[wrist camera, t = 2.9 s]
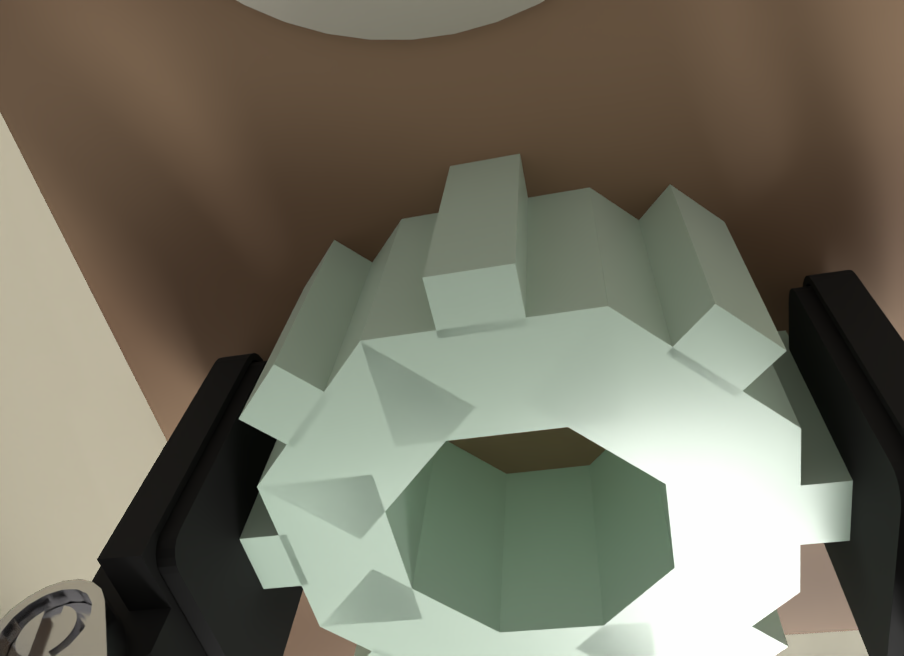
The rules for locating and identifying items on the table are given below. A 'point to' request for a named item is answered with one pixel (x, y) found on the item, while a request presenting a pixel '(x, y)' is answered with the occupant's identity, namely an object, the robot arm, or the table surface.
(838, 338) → the robot arm
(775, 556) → the green gear
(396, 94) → the gear board
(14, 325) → the table surface
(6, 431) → the table surface
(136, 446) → the table surface
